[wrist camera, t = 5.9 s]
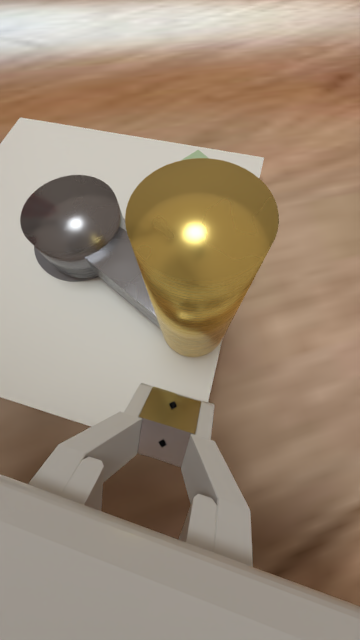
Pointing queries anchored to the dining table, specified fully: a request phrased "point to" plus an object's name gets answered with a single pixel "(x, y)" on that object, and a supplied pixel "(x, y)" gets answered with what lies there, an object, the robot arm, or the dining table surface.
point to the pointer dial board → (83, 284)
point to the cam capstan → (163, 242)
